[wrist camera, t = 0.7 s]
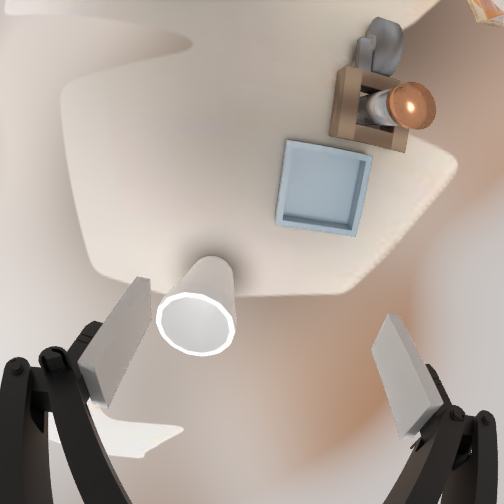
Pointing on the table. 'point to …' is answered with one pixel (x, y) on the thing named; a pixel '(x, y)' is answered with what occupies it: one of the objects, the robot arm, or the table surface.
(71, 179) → the table surface
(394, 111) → the pin
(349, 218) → the tray
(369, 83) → the pulley block
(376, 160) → the table surface
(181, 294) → the foam cup
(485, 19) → the coffeecake box
